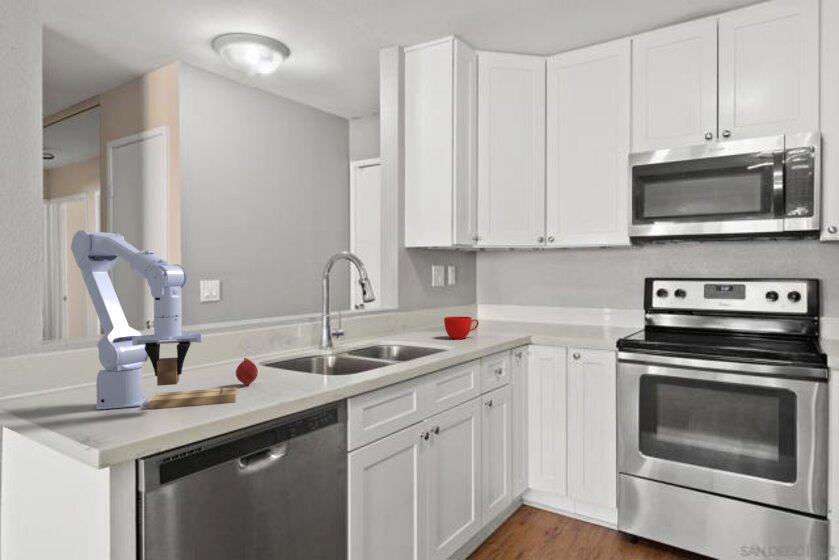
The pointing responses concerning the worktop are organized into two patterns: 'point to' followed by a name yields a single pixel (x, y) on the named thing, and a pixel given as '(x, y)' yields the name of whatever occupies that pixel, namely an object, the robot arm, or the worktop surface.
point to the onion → (246, 372)
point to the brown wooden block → (167, 371)
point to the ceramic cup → (459, 326)
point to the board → (193, 398)
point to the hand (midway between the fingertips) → (168, 374)
